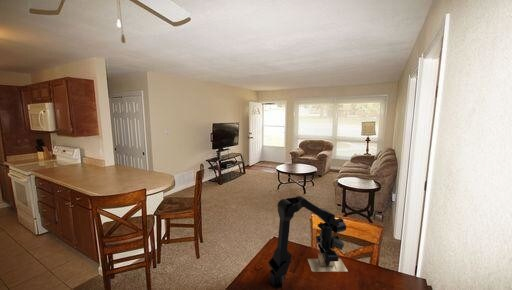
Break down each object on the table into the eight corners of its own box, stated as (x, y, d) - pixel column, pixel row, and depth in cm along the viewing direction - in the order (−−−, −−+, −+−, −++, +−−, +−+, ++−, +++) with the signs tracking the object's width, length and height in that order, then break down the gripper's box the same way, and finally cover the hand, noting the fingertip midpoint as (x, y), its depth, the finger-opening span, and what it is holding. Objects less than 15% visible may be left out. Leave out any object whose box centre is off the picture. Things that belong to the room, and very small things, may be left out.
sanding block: (320, 266, 112) (320, 258, 111) (318, 261, 116) (318, 253, 115) (334, 266, 112) (334, 258, 111) (331, 261, 116) (331, 253, 115)
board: (311, 273, 109) (312, 271, 109) (307, 260, 119) (307, 258, 119) (347, 273, 109) (348, 271, 109) (340, 260, 119) (340, 258, 119)
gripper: (350, 244, 102) (349, 275, 104) (335, 225, 121) (335, 251, 123) (326, 245, 103) (325, 275, 104) (315, 225, 121) (315, 251, 123)
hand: (326, 262), depth 114 cm, fingers closed on sanding block, 4 cm apart
